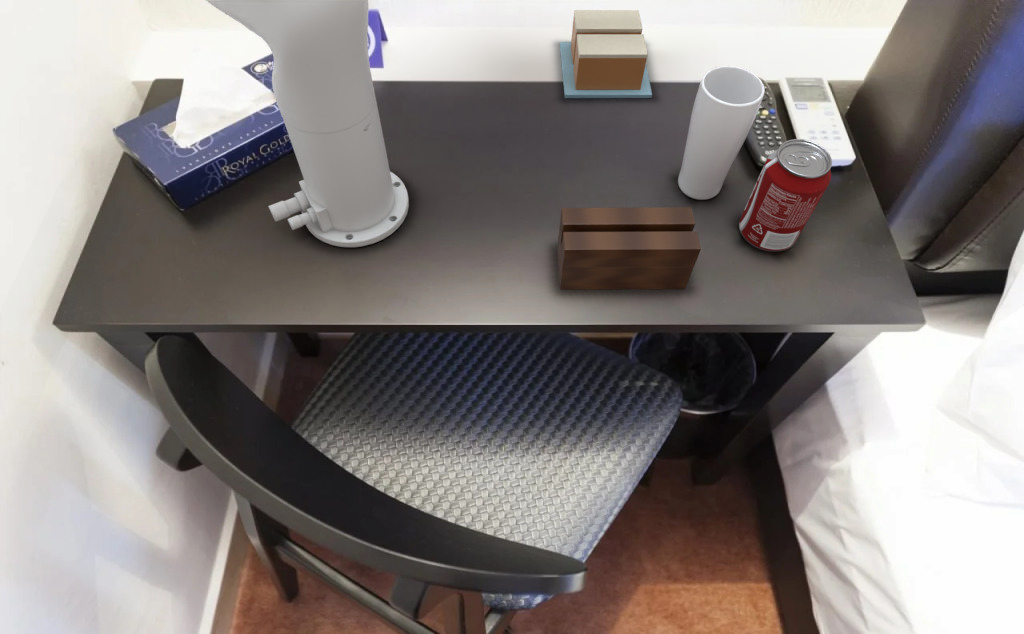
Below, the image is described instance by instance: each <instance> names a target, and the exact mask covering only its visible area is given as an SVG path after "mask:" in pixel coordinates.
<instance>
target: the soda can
mask: <svg viewBox="0 0 1024 634" xmlns="http://www.w3.org/2000/svg"><path fill="white" fill-rule="evenodd" d="M832 167H833V159H832V157H831V154H830V153H829V152H828V150H827V149H826V148H824V147H823V146H822V145H820V144H818V143H817V142H814V141H812V140H809V139H802V138H794V139H789V140H786V141H784V142H782V143H781V144H780V145H779V147H778V148H777V149H775V150H774V151H773V152H771V153H770V154H769V155H768V156H767V158H766V160H765V162H764V165H763V167H762V169H761V171H760V174H759V176H758V178H757V180H756V182H755V185H754V186H753V189H752V191H751V194H750V196H749V198H748V200H747V202H746V205H745V207H744V210H743V212H742V214H741V216H740V218H739V222H738V228H739V232H740V234H741V236H742V238H743V239H744V240H745V241H746V242H747V243H748V244H749V245H751V246H753V247H754V248H756V249H758V250H761V251H764V252H770V253H779V252H783V251H787V250H789V249H790V248H792V247H793V246H794V245H795V244H796V242H797V241H798V239H799V237H800V236H801V234H802V232H803V230H804V228H805V227H806V225H807V223H808V221H809V220H810V218H811V216H812V214H813V213H814V211H815V210H816V208H817V206H818V204H819V202H820V201H821V199H822V198H823V195H824V194H825V192H826V190H827V188H828V187H829V185H830V183H831V180H832V172H831V168H832Z"/></svg>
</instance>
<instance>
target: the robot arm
mask: <svg viewBox="0 0 1024 634" xmlns="http://www.w3.org/2000/svg"><path fill="white" fill-rule="evenodd" d="M205 1H206V2H207V3H208V4H209V5H211V6H212V7H214V8H216V9H217V10H219V11H220V12H222V13H224V14H225V15H226V16H228V17H229V18H232V19H233V20H235V21H236V22H238V23H239V24H241V25H242V26H243V27H245V28H246V29H247V30H249V31H251V32H252V33H254V34H255V35H257V36H258V37H259V38H260V39H262V40H263V41H264V42H265V43H266V44H267V47H269V49H270V51H271V53H272V58H273V68H272V74H271V84H272V90H273V94H274V98H275V101H276V105H277V108H278V110H279V113H280V115H281V117H282V120H283V123H284V126H285V129H286V131H287V134H288V137H289V140H290V143H291V146H292V149H293V152H294V154H295V157H296V161H297V163H298V166H299V169H300V172H301V175H302V178H303V179H301V180H300V181H298V184H299V187H300V189H301V190H300V191H297V192H294V193H293V196H294V197H291V198H289V199H286V200H280V201H278V202H276V203H273V204H270V205H268V210H269V211H270V214H271V216H272V218H273V219H274V222H275V223H277V222H279V221H282V220H284V219H287V222H288V224H289V226H290V228H291V230H292V231H294V230H297V229H300V228H302V227H304V226H306V228H307V229H308V231H309V233H311V235H313V236H314V237H315V238H316V239H318V240H320V241H321V242H323V243H326V244H328V245H330V246H335V247H340V248H359V247H365V246H368V245H369V246H370V245H373V244H375V243H377V242H380V241H382V240H385V239H386V238H388V237H389V236H391V235H392V234H393V233H395V232H396V230H398V229H399V228H400V226H401V225H402V224H403V223H404V221H405V219H406V217H407V216H408V212H409V208H410V201H409V198H410V197H409V194H408V190H407V188H406V186H405V183H404V182H403V181H402V179H401V178H400V177H398V175H397V174H395V173H394V172H392V171H391V170H390V169H391V168H390V165H389V160H388V153H387V148H386V143H385V139H384V134H383V128H382V124H381V123H382V122H381V118H380V113H379V108H378V102H377V96H376V92H375V87H374V83H373V77H372V71H371V63H370V55H369V37H368V36H369V0H205ZM300 212H301V214H297V213H300ZM295 214H297V215H295ZM292 215H294V216H292ZM291 216H292V217H291Z"/></svg>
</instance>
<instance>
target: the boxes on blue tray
mask: <svg viewBox="0 0 1024 634" xmlns="http://www.w3.org/2000/svg"><path fill="white" fill-rule="evenodd" d="M571 29H572V30H571V40H570V41H560V42H559V48H560V49H559V51H560V52H559V53H560V61H561V73H562V82H563V83H562V84H563V94H564V95H563V96H564V99H652V97H653V92H652V87H651V83H650V77H649V73H648V67H647V59H648V55H649V54H648V50H647V44H646V39H645V34H643V25H642V20H641V15H640V11H639V10H638V9H574V10H573V20H572V28H571Z"/></svg>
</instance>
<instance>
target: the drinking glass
mask: <svg viewBox="0 0 1024 634" xmlns="http://www.w3.org/2000/svg"><path fill="white" fill-rule="evenodd" d="M765 92H766V91H765V84H764V82H763V81H762V79H760V78H759V76H757V75H756V74H755V73H754V72H752V71H751V70H748V69H745V68H743V67H739V66H734V65H721V66H716V67H714V68H711V69H709V70H708V71H706V72H705V73H704V74H703V76H702V78H701V81H700V83H699V86H698V89H697V92H696V95H695V98H694V101H693V106H692V108H691V109H692V110H691V114H690V119H689V124H688V130H687V136H686V141H685V146H684V152H683V156H682V162H681V167H680V170H679V174H678V177H677V184H678V188H679V190H680V191H681V192H682V193H683V194H684V195H685V196H687V197H689V198H691V199H694V200H698V201H705V200H710V199H712V198H714V197H717V196H718V194H719V193H720V191H721V190H722V187H723V185H724V182H725V180H726V179H727V176H728V174H729V172H730V170H731V168H732V166H733V164H734V162H735V161H736V158H737V156H738V154H739V152H740V151H741V148H742V147H743V145H744V143H745V141H746V139H747V138H748V135H749V133H750V131H751V129H752V128H753V125H754V123H755V121H756V119H757V116H758V113H759V111H760V108H761V105H762V102H763V99H764V96H765Z"/></svg>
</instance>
